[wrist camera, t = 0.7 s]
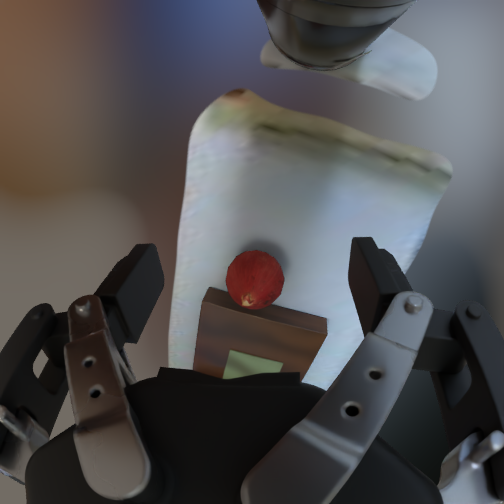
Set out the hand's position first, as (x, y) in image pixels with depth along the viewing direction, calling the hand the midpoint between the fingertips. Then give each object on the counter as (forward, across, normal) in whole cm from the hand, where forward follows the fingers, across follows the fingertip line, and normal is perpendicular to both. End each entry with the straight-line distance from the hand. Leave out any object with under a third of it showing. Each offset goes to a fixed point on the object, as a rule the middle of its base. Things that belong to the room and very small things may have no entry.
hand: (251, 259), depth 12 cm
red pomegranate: (+18, +1, +11) cm, 21 cm away
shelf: (+17, +3, +25) cm, 30 cm away
